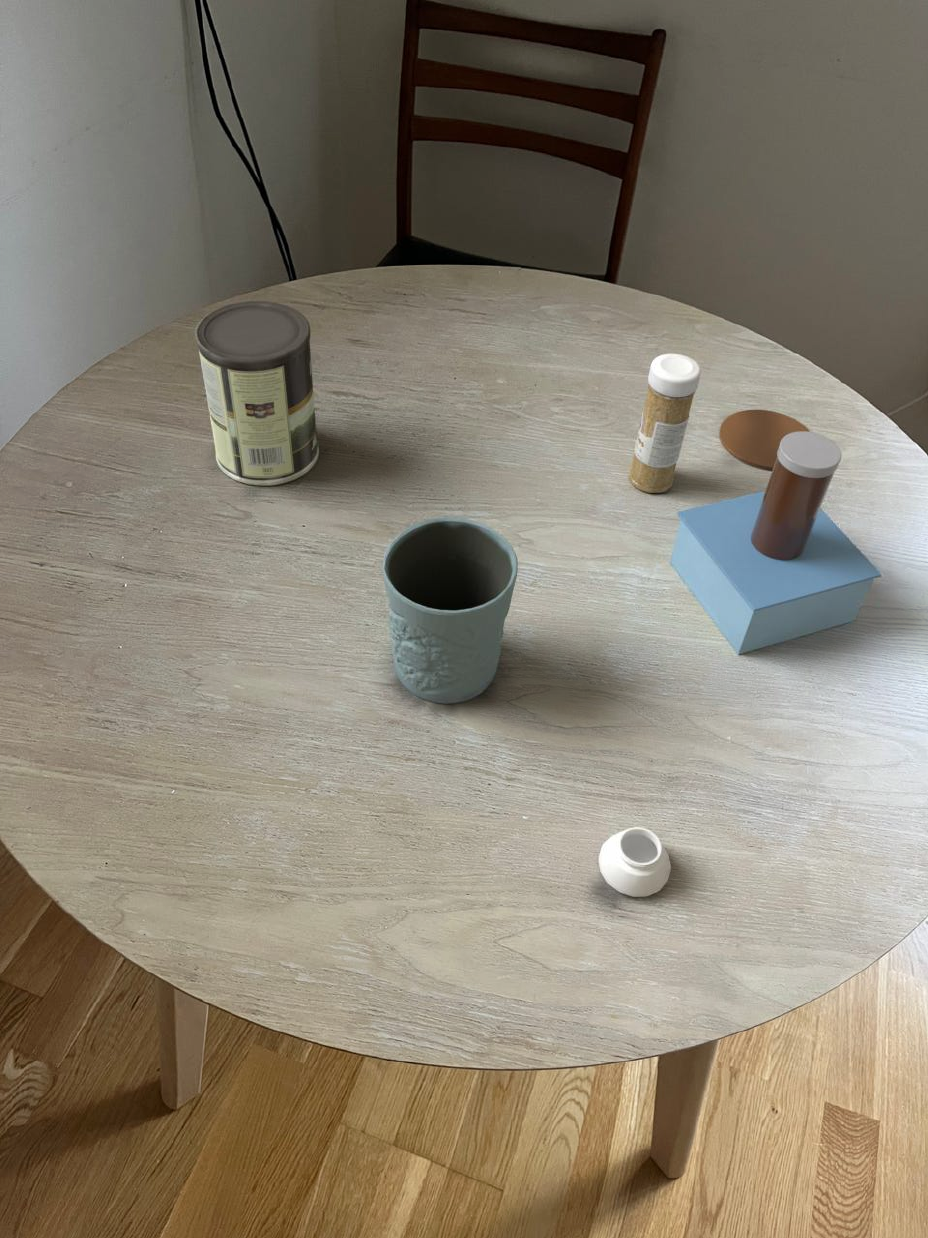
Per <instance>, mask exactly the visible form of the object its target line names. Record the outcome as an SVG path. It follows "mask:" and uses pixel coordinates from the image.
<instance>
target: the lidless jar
mask: <svg viewBox="0 0 928 1238" xmlns="http://www.w3.org/2000/svg"><path fill="white" fill-rule="evenodd" d="M598 866H599V871H600V874H601V876H603V879H604V880H605V882H606V884H608V885H609V886H610V887H611V888H613V889H614V890H616V891H617V892H618V893H619V894H624V895H626V896H630V897H633V898H634V897H635V898H636V897H637V898H638V897H639V898H641V897H649V896H651V895H653V894H655V893H658V892H660V891H661V889H662V888H663V887H664V886H666V884H667V883H668V881H669V877H670V874H671V869H672V864H671V861H670V855H669V852H667V850H666V848H665V847H664V845H663V843H662V842H661V840H660V839H659V837H658V835H656V833H655V832H653V831H652V830H649V829H648V828H645V827H642V826H634V827H633V826H632V827H629V828H627V829H625V830H622V831H619V832H617V833H615V834H613V835H610V837H608V838H607V839H606V841H605V842H604V843H603V844H602V845H601V849H600V852H599V855H598Z"/></svg>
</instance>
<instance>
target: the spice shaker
mask: <svg viewBox="0 0 928 1238" xmlns="http://www.w3.org/2000/svg"><path fill="white" fill-rule="evenodd" d="M841 460H842V451H841V449H840V447H839V445H837V444H836V442H834V441H833V440H832V439H830V438H829V437H827V436H825V435H823V434H820V433H817V432H812V431H810V432H806V431H799V432H793V433H790V434H788V435H786V436H785V437H783V439H782V440H781V442H780V445H779V448H778V451H777V458H776V461H775V464H774V467H773V470H771V473H770V476H769V479H768V482H767V484H766V485H767V486H766V488H765V490H764V491H765V494H764V497H763V500H762V503H761V506H760V509H759V512H758V515H757V518H756V521H755V524H754V527H753V530H752V533H751V542H752V544H753V546H754V547H755V549H756V550H757V551H759V552H760V553H761V554H763V555H765V556H767V557H769V558H772V559H776V560H792V559H795V558H797V557H799V556H800V555H801V554H802V553H803V551H804V549H805V546H806V544H807V541H808V539H809V536H810V533H811V531H812V528H813V526H814V523H815V521H816V518H817V515H818V513H819V510H820V508H821V507H822V505H823V502H824V500H825V498H826V495H827V493H828V490H829V488H830V485H831V482H832V480H833V477H834V475H835V472H836V471H837V470H838V468H839V465H840V462H841ZM821 509H822V508H821Z"/></svg>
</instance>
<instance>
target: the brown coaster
mask: <svg viewBox="0 0 928 1238" xmlns="http://www.w3.org/2000/svg"><path fill="white" fill-rule="evenodd" d="M799 431H806V432H811V431H810V430H809V428H807V426H805V425H804V424H803V423H801V422H800V421H798V420H797V419H795V418H793V417H791V416H789V415H787V414H784V413H781V412H777V411H773V410H768V409H746V410H741V411H737V412H734V413H732V414H730V415H728V416H727V417H726V418H725V419H724V420H723V421H722V423H721V425H720V428H719V432H718V433H719V434H718V436H719V440H720V443H721V444H722V447H723V448H724V449H725V450H726V452H727V453H729V454H730V455H731V456H732V457H734V458H735V459H736V460H739V462H741V463H744V464H747V465H749V466H751V467H754V468H756V469H757V468H758V469H762V470H767V471H772V470H773V467H774V464H775V461H776V458H777V451H778V448H779V445H780V442H781V440H782V439H783V437H785V436H786V435H788V434H790V433H793V432H799Z"/></svg>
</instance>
